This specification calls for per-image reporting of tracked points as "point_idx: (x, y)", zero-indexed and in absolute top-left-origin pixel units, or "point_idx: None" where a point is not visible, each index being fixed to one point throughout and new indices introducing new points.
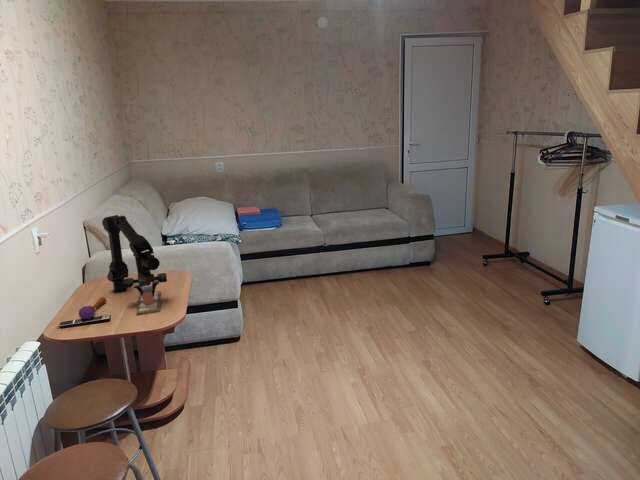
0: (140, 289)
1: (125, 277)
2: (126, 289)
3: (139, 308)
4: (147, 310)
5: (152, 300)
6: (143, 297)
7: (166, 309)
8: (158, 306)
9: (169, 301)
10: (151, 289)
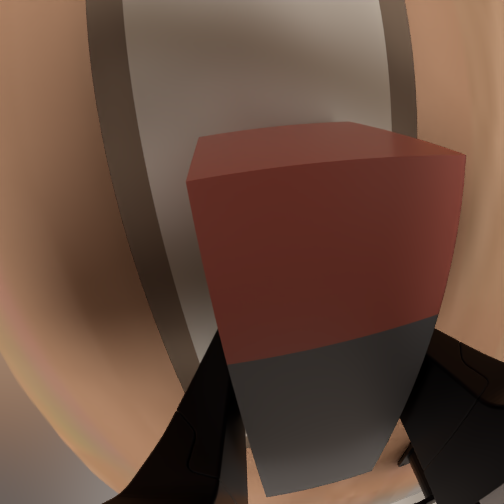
0: (488, 388)
1: (424, 500)
2: (412, 448)
3: (388, 76)
4: None
5: (200, 143)
6: (411, 141)
7: (28, 33)
8: (110, 62)
9: (51, 268)
10: (258, 441)
